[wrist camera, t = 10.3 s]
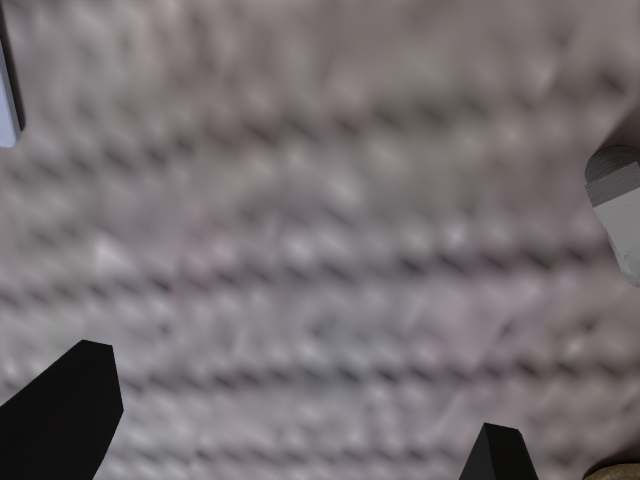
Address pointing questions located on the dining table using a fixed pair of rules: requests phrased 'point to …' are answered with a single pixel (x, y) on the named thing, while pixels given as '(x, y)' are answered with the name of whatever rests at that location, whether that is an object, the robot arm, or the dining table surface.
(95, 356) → the robot arm
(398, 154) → the dining table surface
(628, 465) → the sprinkles bottle
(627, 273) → the T-head stake
